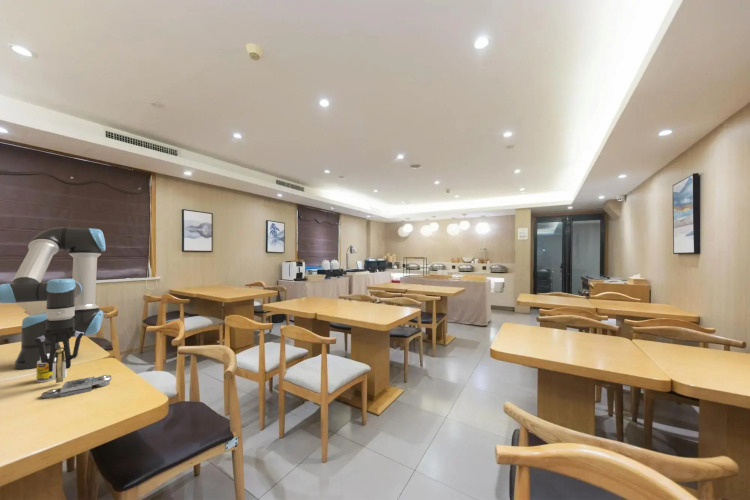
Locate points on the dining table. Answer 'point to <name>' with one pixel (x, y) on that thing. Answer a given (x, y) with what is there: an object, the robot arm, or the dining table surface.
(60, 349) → the pin
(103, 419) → the dining table surface
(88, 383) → the grey metal link plate
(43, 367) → the supplement bottle
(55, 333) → the robot arm
